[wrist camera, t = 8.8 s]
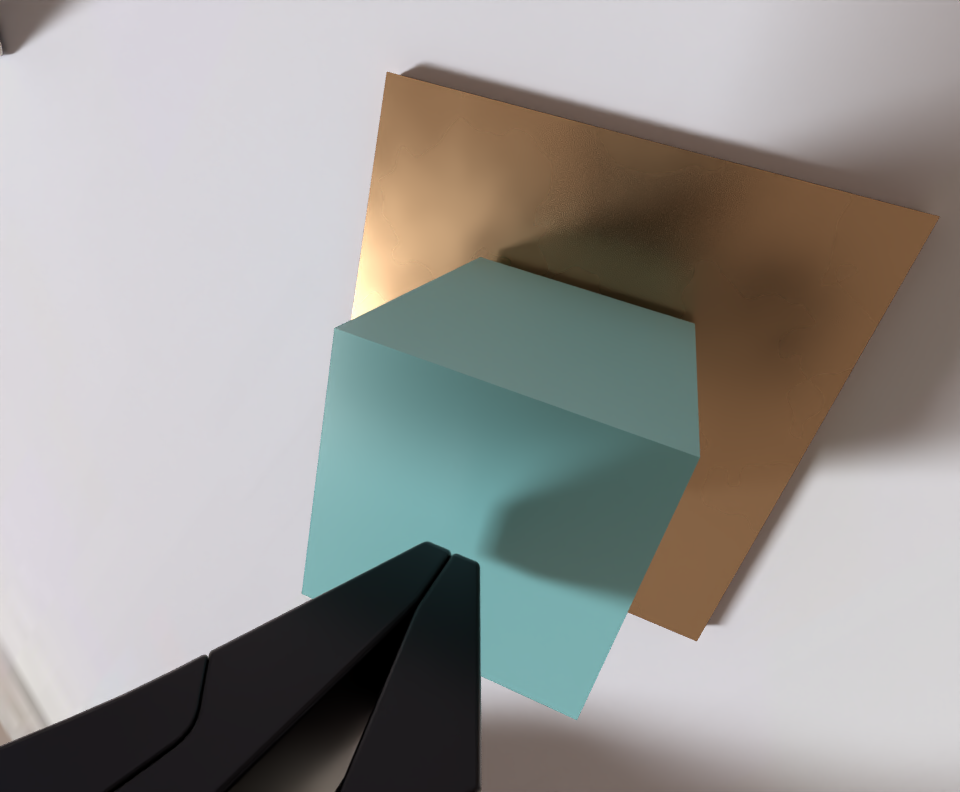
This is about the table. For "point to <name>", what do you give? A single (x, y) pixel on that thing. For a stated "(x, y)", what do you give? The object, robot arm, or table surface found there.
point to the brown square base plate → (653, 284)
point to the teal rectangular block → (510, 458)
